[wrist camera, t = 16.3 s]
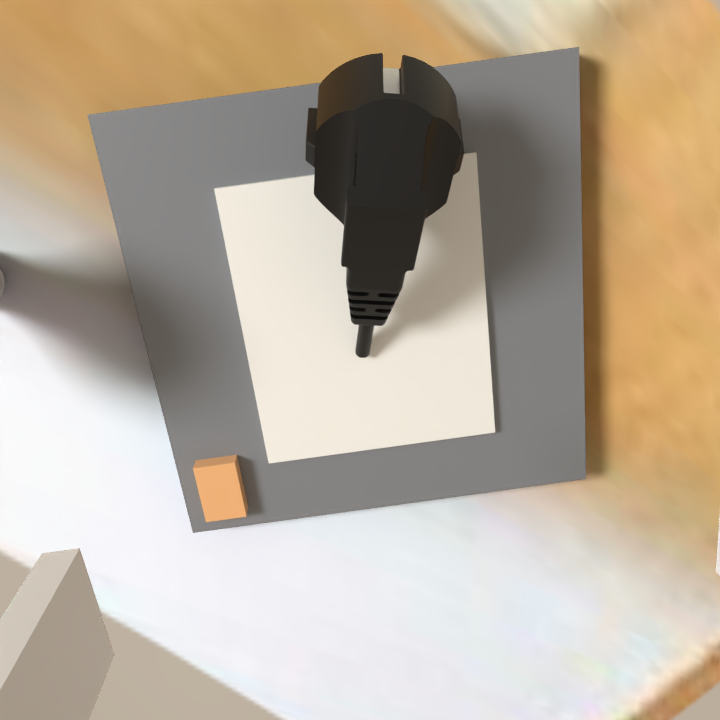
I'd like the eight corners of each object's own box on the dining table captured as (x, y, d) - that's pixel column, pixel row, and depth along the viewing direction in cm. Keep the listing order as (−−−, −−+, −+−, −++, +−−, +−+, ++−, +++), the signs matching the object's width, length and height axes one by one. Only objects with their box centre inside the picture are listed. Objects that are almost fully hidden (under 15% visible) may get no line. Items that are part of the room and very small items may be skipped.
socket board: (99, 114, 29) (80, 115, 27) (566, 50, 29) (586, 45, 27) (198, 516, 36) (190, 542, 34) (575, 464, 36) (591, 487, 34)
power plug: (298, 363, 30) (302, 139, 20) (307, 239, 34) (312, 3, 24) (425, 370, 30) (489, 152, 21) (417, 246, 35) (467, 16, 25)
